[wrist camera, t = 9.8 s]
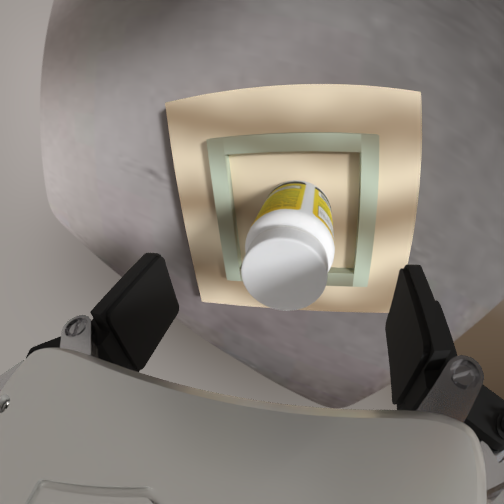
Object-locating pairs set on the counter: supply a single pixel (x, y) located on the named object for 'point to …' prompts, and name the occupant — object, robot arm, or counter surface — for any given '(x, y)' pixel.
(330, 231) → the supplement bottle
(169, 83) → the counter surface
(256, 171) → the board
